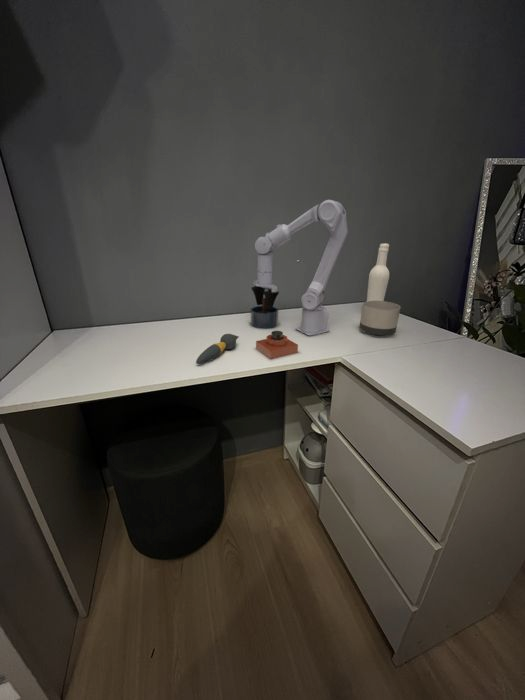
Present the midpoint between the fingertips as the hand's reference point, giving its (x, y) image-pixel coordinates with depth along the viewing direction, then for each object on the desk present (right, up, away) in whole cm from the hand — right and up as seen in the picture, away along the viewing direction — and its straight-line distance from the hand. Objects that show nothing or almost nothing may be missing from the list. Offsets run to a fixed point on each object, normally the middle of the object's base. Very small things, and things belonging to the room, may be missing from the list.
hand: (264, 307), depth 116 cm
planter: (+42, -10, -5) cm, 43 cm away
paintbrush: (-14, -18, -24) cm, 34 cm away
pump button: (+4, -13, -23) cm, 27 cm away
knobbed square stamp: (+4, -17, -21) cm, 27 cm away
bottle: (+47, -2, +14) cm, 49 cm away
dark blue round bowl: (0, -6, +3) cm, 7 cm away
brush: (0, -7, +3) cm, 7 cm away
